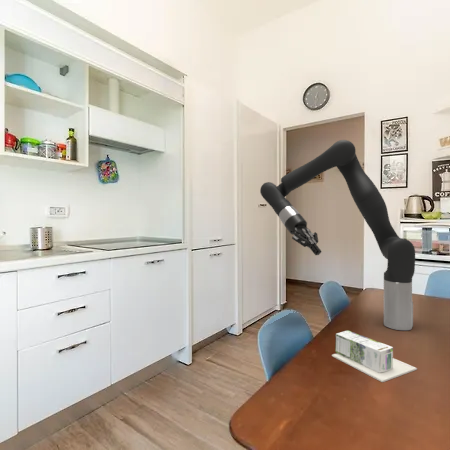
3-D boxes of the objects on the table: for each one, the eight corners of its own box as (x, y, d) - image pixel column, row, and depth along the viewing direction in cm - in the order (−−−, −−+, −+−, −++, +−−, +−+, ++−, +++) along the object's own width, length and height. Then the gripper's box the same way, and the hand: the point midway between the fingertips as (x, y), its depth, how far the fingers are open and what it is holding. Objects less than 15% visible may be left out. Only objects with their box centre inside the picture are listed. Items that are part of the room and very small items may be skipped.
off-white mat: (364, 347, 93) (364, 345, 93) (416, 369, 79) (416, 368, 79) (331, 356, 87) (331, 354, 87) (382, 382, 72) (382, 380, 72)
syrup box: (347, 348, 91) (394, 368, 78) (334, 352, 88) (381, 374, 75) (347, 329, 91) (394, 346, 78) (334, 333, 88) (381, 351, 75)
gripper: (286, 212, 110) (313, 247, 100) (308, 213, 118) (336, 245, 108) (275, 226, 115) (301, 261, 105) (298, 226, 122) (323, 259, 113)
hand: (318, 253), depth 107 cm, fingers closed
